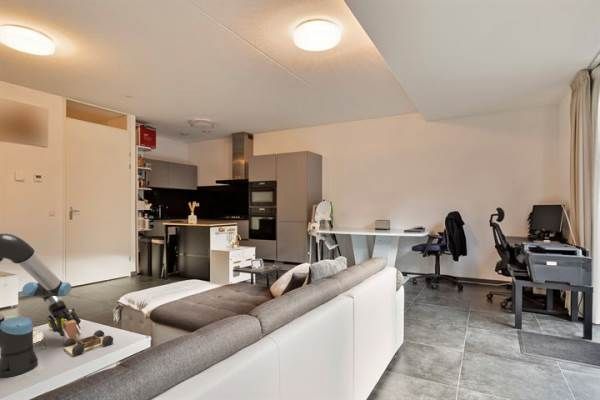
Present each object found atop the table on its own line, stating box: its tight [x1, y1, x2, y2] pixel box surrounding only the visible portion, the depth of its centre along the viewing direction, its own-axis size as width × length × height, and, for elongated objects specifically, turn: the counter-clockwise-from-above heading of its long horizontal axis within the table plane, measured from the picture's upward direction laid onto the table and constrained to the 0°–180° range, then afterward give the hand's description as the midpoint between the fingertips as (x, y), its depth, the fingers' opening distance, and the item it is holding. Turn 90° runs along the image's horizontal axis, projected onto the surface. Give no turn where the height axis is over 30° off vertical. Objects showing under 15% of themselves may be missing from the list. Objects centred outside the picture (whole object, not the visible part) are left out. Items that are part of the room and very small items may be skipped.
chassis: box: [63, 329, 114, 358], centre depth 177 cm, size 20×14×5 cm
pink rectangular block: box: [62, 320, 78, 345], centre depth 182 cm, size 5×5×12 cm
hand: (73, 337), depth 181 cm, fingers closed on pink rectangular block, 6 cm apart
